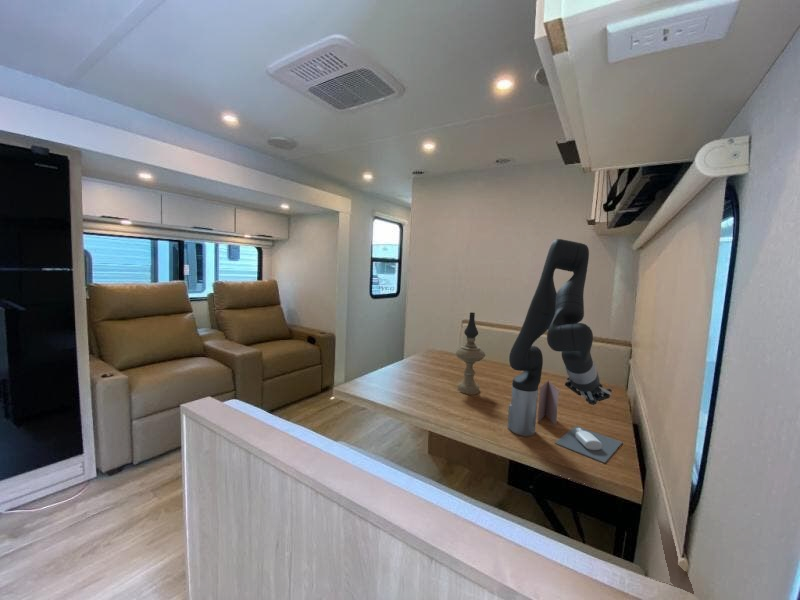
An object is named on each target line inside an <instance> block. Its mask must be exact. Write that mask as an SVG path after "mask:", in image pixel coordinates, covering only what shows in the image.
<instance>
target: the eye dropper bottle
mask: <svg viewBox="0 0 800 600" xmlns="http://www.w3.org/2000/svg"><path fill="white" fill-rule="evenodd" d="M581 428H582V427H581ZM581 428H576V438H577V439H578V440H579V441H580V442H581V443H582V444H583V445H584V446H585V447H586V448H587V449H590V450H599V449H601V448H602V443H601V442H600V441H599V440H598V439H597V438H596V437H594V436H593V435H592V434H591V433H589V432H587V431H583V430H582V429H581Z"/></svg>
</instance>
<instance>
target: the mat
mask: <svg viewBox="0 0 800 600" xmlns="http://www.w3.org/2000/svg"><path fill="white" fill-rule="evenodd" d="M576 428H581V429H582V430H583V431H587V432H589V433H591V434H592V435H593V436H594V437H596V438H597V439H598V440H599V441H600V442H601V443H602V448H601V449H599V450H590V449H587V448H586V447H585V446H584V445H583V444H582V443H581V442H580V441H579V440H578V439H577V438H576ZM554 444H556V445H557V446H559V447H563V448H565V449H568V450H570V451H572V452H575V453H577V454H580V455H582V456H585V457H587V458H590V459H593V460H595V461H597V462H599V463H602V464H606V463H607V462H608V461H609V460H610V459H611V457H612V456H613V455H614V454H615V452H616V451H618V449H619V448H620V447H621V445H622V444H623V441H621V440H618V439H615V438H612V437H610V436H606V435H603V434H600V433H598V432H595V431H591V430H589V429H586V428H583V427H580V426H578V425H575V426H573V428H571V429H570V430H569V431H567V432H566V433H565V434H564V435H563V436H561V437H560V438H558V440H555V442H554ZM619 446H620V447H619ZM618 447H619V448H618Z"/></svg>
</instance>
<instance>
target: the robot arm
mask: <svg viewBox="0 0 800 600" xmlns="http://www.w3.org/2000/svg"><path fill="white" fill-rule="evenodd" d="M589 258H590V249H589V247H588V245H587V244H585V243H582V242H577V241H572V240H569V239H562V238H557V239H554V240H553V241H552V243H551V245H550V246H549V249H548V252H547V256H546V258H545V262H544V266H543V268H542V273H541V276H540V279H539V281H538V284H537V287H536V290H535V292H534V295H533V297H532V299H531V301H530V303H529V307H528V310H527V313H526V315H525V318H524V322H523V324H522V327H521V329H520V331H519V332H518V335H517V337H516V339H515V341H514V343H513V345H512V346H511V350H510V352H509V359H508V362H509V365H510V367H511V368H512V369H513V370H514V371H519V372H521V371H522V372H521V373H520V374H518V375H516V376H515V377H513V379H512V386H511V400H510V402H511V403H509V404H508V414H507V429H509V430H510V431H511V433H514V434H516V435H519V436H524V437H530V436H534V435H535V433H536V421H537V411H538V409H537V408H538V407H537V406H538V396H539V394H538V392H539V385H540V384H541V379H542V372H543V363H544V358H543V352H542V350H541V348H539V347H538V346H536V345H533V344H534V343H535V342H536V341H537V340H538V339H539V338H540V337H542V336H543V335H544V334H545V333H546V332H547V335H546V341H547V344H548V346H549V348H550V349H551V350H552V351H554V352H561V358H562V361H563V364H564V365H565V370H566V374H567V376H568V377H567V378H566V380H565V383H564V386H565V387H566V388H568V389H570V391H572V392H573V393H575V394H576V395H578V396H580V397H581V396H583V398H584V399H585V400H586V402H587V403H588V405H591V406H594V405H597V403H598V402H602V401H604V400H607V399H610V398H611V394H612V391H613V390H612V388H604V387H603V384H602V383H601V381H600V377H599V373H598V370H597V367H596V364H595V363H594V361H593V358H592V355H591V349H592V346H593V343H594V342H593V340H594V333H593V331H592V328H591V327H590V326H589V325H587V324H585V323H583V320H584V316H585V308H584V307H585V306H584V305H585V304H584V291H585V290H584V289H585V283H586V278H587V271H588V267H589V260H590V259H589ZM556 269H557V270H561V271H565V272H566V271H567V272H573V274H572V276H571V277H570V278H569V279H568V280H567V281H566V282H565V283H564V284H563V285H561V287H560V288H559V289H558V291H557V290H556V287H555V281H554V274H555V271H556Z"/></svg>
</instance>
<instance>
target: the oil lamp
mask: <svg viewBox="0 0 800 600" xmlns="http://www.w3.org/2000/svg"><path fill="white" fill-rule="evenodd" d="M475 314H476V313H475V312H473V311H472V312H469V321H468V324H467V326H466V328H465V329H464V330H463V334H464V335H465V336H466V343H465V344H462V345H461V346H460V347H458V348H457V349H456V351H455V352H454V353H455V355H456V357H457V358H458V359H459V360H461V361H463V362H464V363H465V365H466V367H465V368H464V370H463V371H462V372H463V375H464V378H463V380H462V381H461V382H459V383H458V384H457V392H459V391H460V393H461V392H462V393H461V394H465V393H466V395H476V394H479V393H480V386H479V384H478V383H477V382H476V381H475V379H474V376H475V374H476V371H475V369H474V368H473V366H474V364H475V363H476V362H480V361H482V360H483V359H484V358H485V357H486V353H485V351H484V350H483V349H482V348H481V347H480V346H479V345H476V343H475V341H476V337H477V336H478V335H479V331H478V327H476V326H477V325H476V322H475V321H476V319H475V318H476V317H475V316H476V315H475Z"/></svg>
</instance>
